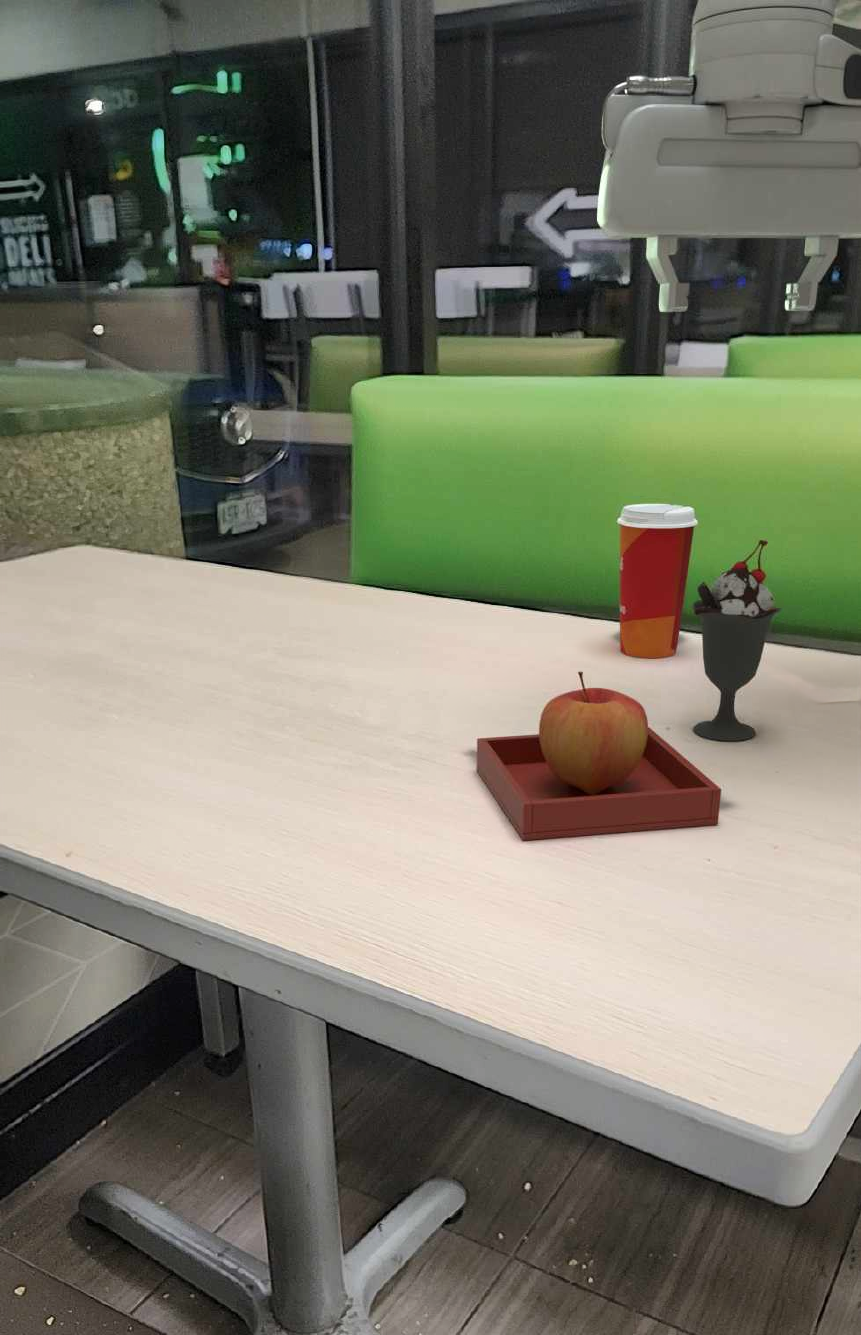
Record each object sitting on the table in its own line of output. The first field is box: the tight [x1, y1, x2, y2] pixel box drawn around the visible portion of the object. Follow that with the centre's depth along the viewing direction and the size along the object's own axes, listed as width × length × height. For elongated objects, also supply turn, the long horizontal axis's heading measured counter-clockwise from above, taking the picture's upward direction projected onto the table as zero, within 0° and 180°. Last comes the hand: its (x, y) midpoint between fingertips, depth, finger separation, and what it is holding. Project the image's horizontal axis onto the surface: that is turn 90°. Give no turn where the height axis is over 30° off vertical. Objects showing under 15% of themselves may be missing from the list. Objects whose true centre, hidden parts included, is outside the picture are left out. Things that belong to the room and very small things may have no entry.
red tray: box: [476, 726, 722, 841], centre depth 80 cm, size 13×13×2 cm
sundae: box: [692, 539, 782, 742], centre depth 91 cm, size 7×7×15 cm
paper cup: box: [616, 503, 699, 659], centre depth 115 cm, size 8×8×14 cm
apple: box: [538, 671, 649, 795], centre depth 79 cm, size 7×7×8 cm
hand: (736, 311), depth 81 cm, fingers open, 8 cm apart
